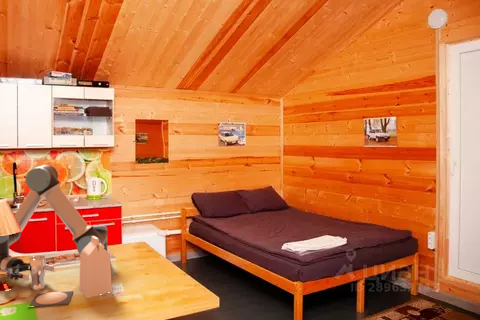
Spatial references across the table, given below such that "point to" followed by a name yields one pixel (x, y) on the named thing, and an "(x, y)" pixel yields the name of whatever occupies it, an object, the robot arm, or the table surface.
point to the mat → (51, 299)
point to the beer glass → (37, 272)
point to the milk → (95, 269)
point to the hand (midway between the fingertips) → (41, 273)
